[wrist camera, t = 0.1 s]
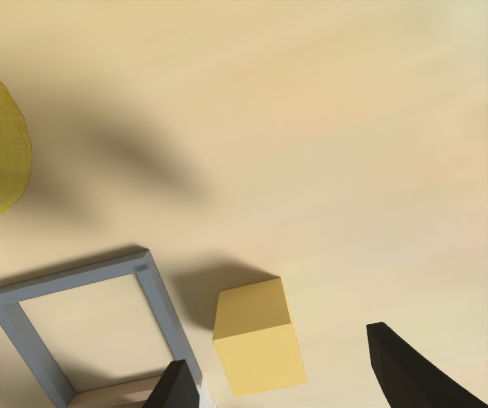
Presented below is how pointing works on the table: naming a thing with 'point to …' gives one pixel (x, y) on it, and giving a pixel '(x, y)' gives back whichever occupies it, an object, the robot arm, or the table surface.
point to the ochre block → (257, 339)
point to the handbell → (12, 151)
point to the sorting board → (20, 328)
